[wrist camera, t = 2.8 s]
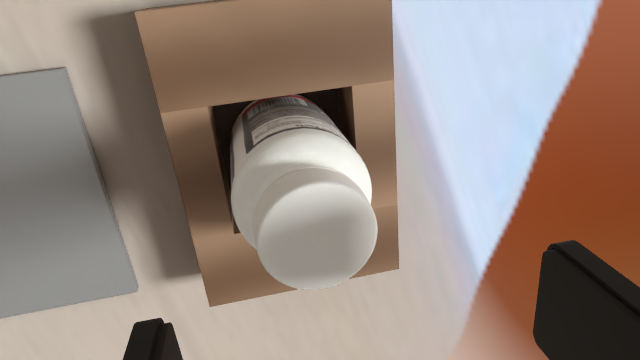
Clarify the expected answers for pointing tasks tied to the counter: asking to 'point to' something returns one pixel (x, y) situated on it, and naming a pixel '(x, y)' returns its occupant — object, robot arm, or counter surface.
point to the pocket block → (265, 82)
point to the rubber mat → (53, 202)
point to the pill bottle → (300, 193)
